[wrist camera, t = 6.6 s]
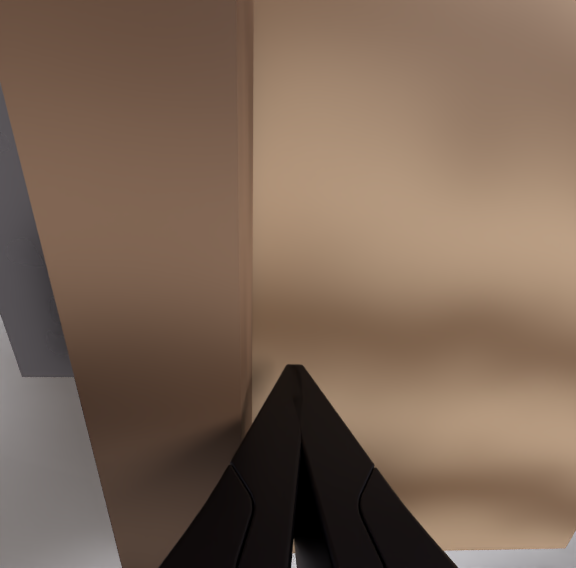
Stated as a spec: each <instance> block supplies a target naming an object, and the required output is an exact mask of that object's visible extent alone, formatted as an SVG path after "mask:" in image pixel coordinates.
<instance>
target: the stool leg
mask: <svg viewBox="0 0 576 568" xmlns="http://www.w3.org/2000/svg"><path fill="white" fill-rule="evenodd" d="M253 61H254V0H0V83H1V87H2V91H3V95H4V99H5V103H6V107H7V111H8V115H9V119H10V123H11V127H12V131H13V135H14V139H15V143H16V147H17V151H18V155H19V159H20V163H21V167H22V170H23V174H24V178H25V182H26V186H27V190H28V194H29V198H30V202H31V206H32V210H33V214H34V218H35V222H36V226H37V230H38V234H39V238H40V242H41V246H42V250H43V254H44V258H45V262H46V266H47V270H48V274H49V278H50V282H51V286H52V290H53V294H54V298H55V302H56V306H57V310H58V314H59V318H60V322H61V326H62V330H63V334H64V338H65V342H66V346H67V350H68V354H69V358H70V362H71V366H72V370H73V374H74V378H75V382H76V386H77V390H78V394H79V398H80V402H81V406H82V410H83V414H84V418H85V422H86V426H87V430H88V434H89V438H90V442H91V446H92V450H93V454H94V458H95V462H96V466H97V470H98V474H99V478H100V482H101V486H102V490H103V494H104V498H105V501H106V505H107V509H108V513H109V517H110V521H111V525H112V529H113V533H114V537H115V541H116V545H117V549H118V553H119V557H120V561H121V565H122V568H158V567H159V566H160V564H161V563H162V562H163V560H164V559H165V558H166V556H167V555H168V554H169V552H170V551H171V550H172V548H173V547H174V546H175V544H176V543H177V542H178V540H179V539H180V538H181V536H182V535H183V534H184V532H185V531H186V529H187V528H188V527H189V525H190V524H191V522H192V521H193V519H194V518H195V517H196V515H197V514H198V512H199V511H200V510H201V508H202V507H203V505H204V504H205V502H206V501H207V499H208V497H209V496H210V494H211V493H212V491H213V489H214V488H215V486H216V485H217V483H218V481H219V480H220V478H221V476H222V474H223V473H224V471H225V469H226V468H227V466H228V465H230V461H231V459H232V458H233V456H234V454H235V452H236V451H237V449H238V447H239V445H240V444H241V442H242V440H243V439H244V437H245V435H246V433H247V432H248V430H249V428H250V426H251V425H252V285H253Z"/></svg>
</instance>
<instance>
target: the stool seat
mask: <svg viewBox="0 0 576 568" xmlns="http://www.w3.org/2000/svg"><path fill="white" fill-rule="evenodd" d="M0 314H1V317H2V320H3V323H4V326H5V328H6V331H7V334H8V337H9V340H10V343H11V346H12V349H13V351H14V354H15V357H16V360H17V363H18V366H19V369H20V372H21V374H22V377H74V374H73V370H72V366H71V362H70V358H69V354H68V350H67V346H66V342H65V338H64V334H63V330H62V326H61V322H60V318H59V314H58V310H57V306H56V302H55V298H54V294H53V290H52V286H51V282H50V278H49V274H48V270H47V266H46V262H45V258H44V254H43V250H42V246H41V242H40V238H39V234H38V230H37V226H36V222H35V218H34V214H33V210H32V206H31V202H30V198H29V194H28V190H27V186H26V182H25V178H24V174H23V170H22V167H21V163H20V159H19V155H18V151H17V147H16V143H15V139H14V135H13V131H12V127H11V123H10V119H9V115H8V111H7V107H6V103H5V99H4V95H3V91H2V87H1V83H0ZM287 364H301V365H303V366H304V367H305V368H306V370H307V371H308V373H309V374H310V375H311V377H312V378H313V380H314V381H315V382H316V384H317V385H318V386H319V388H320V389H321V391H322V392H323V393H324V395H325V396H326V398H327V399H328V400H329V402H330V403H331V405H332V406H333V407H334V409H335V410H336V412H337V413H338V414H339V416H340V417H341V418H342V420H343V421H344V423H345V424H346V425H347V427H348V428H349V430H350V431H351V432H352V434H353V435H354V437H355V438H356V439H357V441H358V442H359V444H360V445H361V446H362V448H363V449H364V450H365V452H366V453H367V455H368V456H369V457H370V459H371V460H372V462H373V463H374V465H375V467H376V468H378V470H379V471H380V473H381V474H382V475H383V477H384V478H385V480H386V481H387V482H388V484H389V485H390V486H391V488H392V489H393V490H394V492H395V493H396V494H397V496H398V497H399V498H400V500H401V501H402V502H403V504H404V505H405V506H406V507H407V509H408V510H409V511H410V512H411V513H412V515H413V516H414V517H415V518H416V519H417V521H418V522H419V523H420V524H421V525H422V526H423V528H424V529H425V530H426V531H427V532H428V534H429V535H430V536H431V537H432V538H433V539H434V541H435V542H436V543H437V544H438V545H439V546H440V547H441V549H442V550H443V551H446V550H501V549H555V548H566V546H567V545H568V543H569V541H570V539H571V538H572V536H573V534H574V532H575V531H576V0H254V61H253V285H252V423H253V421H254V420H255V418H256V416H257V414H258V413H259V411H260V409H261V408H262V406H263V404H264V402H265V401H266V399H267V397H268V395H269V394H270V392H271V390H272V389H273V387H274V385H275V383H276V382H277V380H278V378H279V376H280V375H281V373H282V371H283V370H284V368H285V366H286V365H287ZM375 467H374V468H375ZM292 553H295V546H294V541H293V552H292Z"/></svg>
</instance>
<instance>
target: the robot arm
mask: <svg viewBox="0 0 576 568" xmlns="http://www.w3.org/2000/svg"><path fill="white" fill-rule="evenodd" d="M374 467H375V465H374V463H373V462H372V460H371V459H370V457H369V456H368V455H367V453H366V452H365V450H364V449H363V448H362V446H361V445H360V444H359V442H358V441H357V439H356V438H355V437H354V435H353V434H352V432H351V431H350V430H349V428H348V427H347V425H346V424H345V423H344V421H343V420H342V418H341V417H340V416H339V414H338V413H337V412H336V410H335V409H334V407H333V406H332V405H331V403H330V402H329V400H328V399H327V398H326V396H325V395H324V393H323V392H322V391H321V389H320V388H319V386H318V385H317V384H316V382H315V381H314V380H313V378H312V377H311V375H310V374H309V373H308V371H307V370H306V368H305V367H304V366H303V365H301V364H287V365H286V366H285V368H284V370H283V371H282V373H281V375H280V376H279V378H278V380H277V382H276V383H275V385H274V387H273V389H272V390H271V392H270V394H269V395H268V397H267V399H266V401H265V402H264V404H263V406H262V408H261V409H260V411H259V413H258V414H257V416H256V418H255V420H254V421H253V423H252V425H251V426H250V428H249V430H248V432H247V433H246V435H245V437H244V439H243V440H242V442H241V444H240V445H239V447H238V449H237V451H236V452H235V454H234V456H233V458H232V459H231V461H230V465H228V466H227V468H226V469H225V471H224V473H223V474H222V476H221V478H220V480H219V481H218V483H217V485H216V486H215V488H214V489H213V491H212V493H211V494H210V496H209V497H208V499H207V501H206V502H205V504H204V505H203V507H202V508H201V510H200V511H199V512H198V514H197V515H196V517H195V518H194V519H193V521H192V522H191V524H190V525H189V527H188V528H187V529H186V531H185V532H184V534H183V535H182V536H181V538H180V539H179V540H178V542H177V543H176V544H175V546H174V547H173V548H172V550H171V551H170V552H169V554H168V555H167V556H166V558H165V559H164V560H163V562H162V563H161V564H160V566H159V567H158V568H291V562H292V552H293V541H294V546H295V555H296V564H297V568H458V567H457V566H456V565H455V563H454V562H453V561H452V560H451V559H450V558H449V557H448V555H447V554H446V553H445V552H444V551H443V550H442V549H441V547H440V546H439V545H438V544H437V543H436V542H435V541H434V539H433V538H432V537H431V536H430V535H429V534H428V532H427V531H426V530H425V529H424V528H423V526H422V525H421V524H420V523H419V522H418V521H417V519H416V518H415V517H414V516H413V515H412V513H411V512H410V511H409V510H408V509H407V507H406V506H405V505H404V504H403V502H402V501H401V500H400V498H399V497H398V496H397V494H396V493H395V492H394V490H393V489H392V488H391V486H390V485H389V484H388V482H387V481H386V480H385V478H384V477H383V475H382V474H381V473H380V471H379V470H378V468H376V467H375V468H374Z"/></svg>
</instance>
